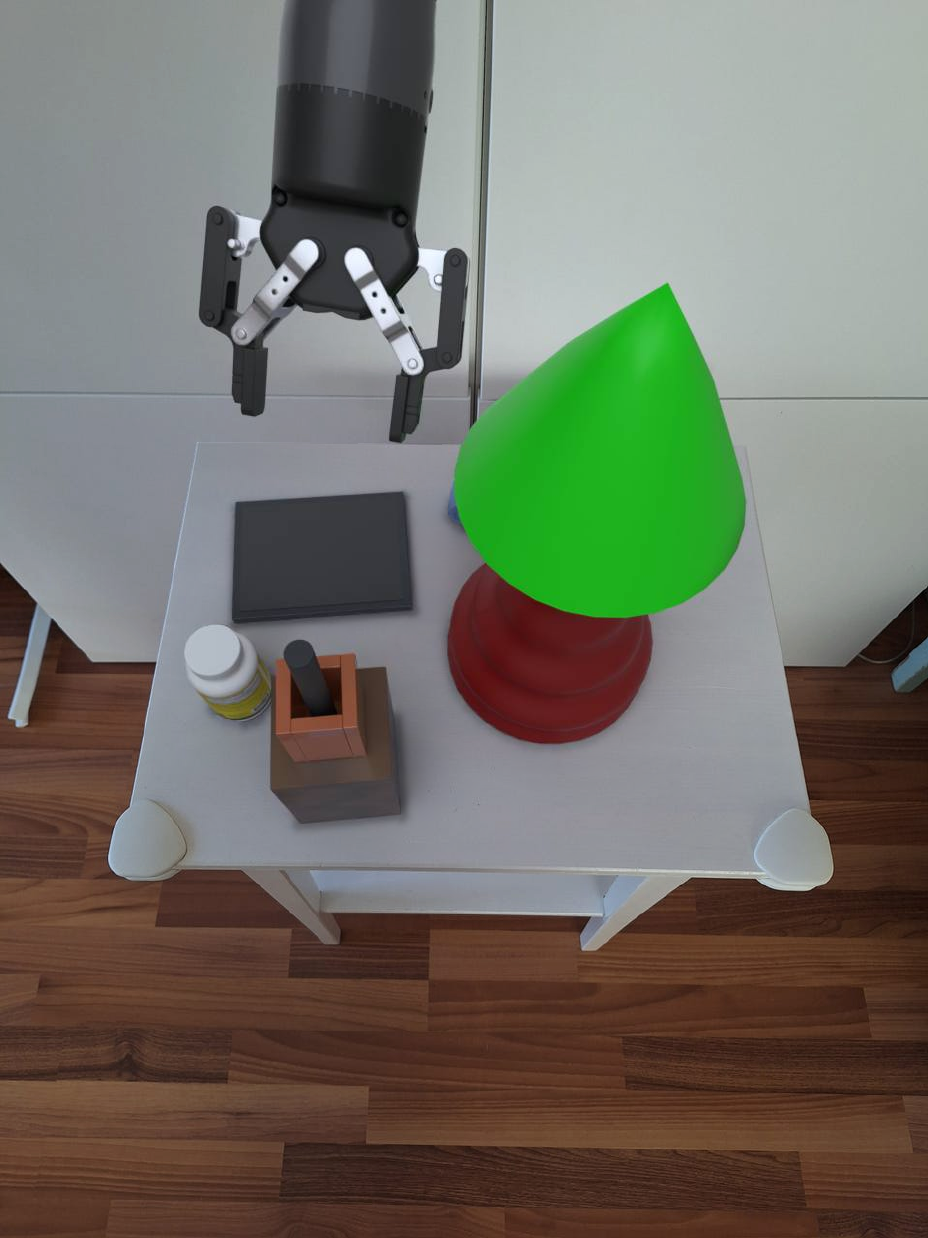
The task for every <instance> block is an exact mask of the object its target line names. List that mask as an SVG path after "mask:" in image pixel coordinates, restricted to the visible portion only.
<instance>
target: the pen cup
mask: <svg viewBox="0 0 928 1238" xmlns="http://www.w3.org/2000/svg"><path fill="white" fill-rule="evenodd" d="M316 657H317V659H318V662H319V665H320V667H321V670H322V673H323V675H324V678H325V681H326V683H327V686H328V689H329V691H330V694H331V697H332V699H333V702H334V705H335V707H336V710H337V713H338V715H330V716H318V717H312V716H311V714H310V712H309V710H308V708H307V706H306V704H305V701H304V699H303V697H302V695H301V693H300V691H299V689H298V687H297V685H296V683H295V681H294V678H293V676H292V674H291V672H290V670H289V668H288V666H287V664H286V662H285V660H284V657H283V658H275V659H276V660H275V675H276V735H277V737H278V738H279V740H280V741H281V743H282V744H283V746H284V747H285V749H286V750H287V752H288V753H289V755H290V756H291V758H292V759H293V761H294V762H295V763H301V762H313V761H324V760H336V759H347V758H358V757H367V745H366V723H365V701H364V688H363V684H362V680H361V676H360V673H359V669H360V668H359V665H358V661H357V658H356V654H355V652H351V653H349V652H348V653H338V654H336V653H335V654H324V655H316Z"/></svg>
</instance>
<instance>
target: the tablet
mask: <svg viewBox="0 0 928 1238" xmlns="http://www.w3.org/2000/svg"><path fill="white" fill-rule="evenodd" d="M404 498H405V497H404V491H389V492H387V491H386V492H374V493H355V494H341V495H325V496H309V497H308V496H307V497H295V498H294V497H293V498H278V499H262V500H247V501H235V504H234V507H235V508H234V533H233V535H234V538H233V539H234V540H233V565H232V566H233V567H232V569H233V570H232V595H231V596H232V599H231V621H232V623H233V624H246V623H259V622H272V621H273V622H274V621H287V620H298V619H313V618H325V617H327V618H328V617H339V616H352V615H366V614H368V615H369V614H379V613H390V612H391V613H393V612H406V611H413V600H412V599H413V598H412V587H411V574H410V563H409V550H408V537H407V535H408V534H407V524H406V511H405V510H406V509H405V499H404Z"/></svg>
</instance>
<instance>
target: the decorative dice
mask: <svg viewBox="0 0 928 1238" xmlns="http://www.w3.org/2000/svg"><path fill="white" fill-rule="evenodd" d="M450 489H451V490H450V494H449V498H448V506H447V516H448V517H449V518H450V519H451V521H452V522H454V523H456V524H458V525H459V526H463V525H462V523H461V520H460V518H459V514H458V509H457V504H456V500H455V495H454V481H452V484H451V488H450Z"/></svg>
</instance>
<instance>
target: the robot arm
mask: <svg viewBox="0 0 928 1238" xmlns="http://www.w3.org/2000/svg"><path fill="white" fill-rule="evenodd" d="M437 3H438V0H283V6H282V11H281V18H280V25H279V26H280V27H279V36H278V37H279V38H278V54H277V73H276V89H275V106H274V107H275V108H274V127H273V129H274V130H273V143H272V145H273V146H272V164H271V182H270V202H269V206H268V209H267V212H266V213H265V214H264V215H265V216H264V217H263V219H260V218H255V217H252V216H251V217H250V216H246V215H243V214H242V213H240V212H238V211H235V210H232V209H230V208H226V207H224V206H220V205H214V206H211V207H210V208H209V209H208V210H207V213H206V217H205V218H206V219H205V232H204V244H203V258H202V267H201V281H200V294H199V305H198V306H199V307H198V318H199V320H200V322H201V324H203V325H204V326H205V327H207V328H213V329H214V330H215V331H218V332H219V333H220V334H223V335H224V336H226V337H227V338H228V339H229V341H230V342H231V344H232V347H233V348H232V369H231V370H232V372H231V374H232V376H231V396H232V398H233V399H232V400H233V402H234V404H240V413H241V415H243V416H248V417H252V418H253V417H254V418H255V417H258V416H261V415H263V414H264V411H265V409H266V395H267V394H266V393H267V376H268V362H269V361H268V359H269V347H267V346H264V341H265V340H266V339H267V338H268V337H269V336H270V334H272V333H273V332H274V330H275V329H276V328H277V327H278V326H279V324H280V323H281V322H282V321H283V320H285V318H287V317H288V316H289V315H290V314H292V312H293V311H294V310H295V308H297V306H298V307H299V308H300V309H302V312H307V313H308V312H309V313H313V314H328V313H334V314H335V315H338V316H340V317H342V318H344V319H348V320H354V321H358V322H359V321H367V320H371V319H373V318H374V320H375V322H376V324H377V326H378V328H379V329H380V331H381V334H382V335H383V336H384V338H385V339H386V340H387V341H388V343H389V345H390V347H391V349H392V351H393V352H394V354H395V356H396V358H397V360H398V362H399V364H400V366H401V369H400V373H397V374H396V376H395V383H394V391H393V398H392V399H393V401H392V408H391V417H390V424H389V433H388V442H390V443H391V442H392V443H397V444H402V443H403V442H405V440H406V438H407V435H412V434H414V432H415V431H416V430H417V427H418V426H419V424H420V421H421V420H420V419H421V411H422V405H423V397H424V390H425V383H426V378H427V377H428V375H429V374H430V373H432V372H437V371H438V372H439V371H443V370H451V369H453V368H455V367H456V366H457V365H458V364H459V363H460V362H461V361H462V358H463V357H462V356H463V349H464V348H463V346H464V337H465V336H464V335H465V325H466V315H467V314H466V313H467V303H468V293H469V282H470V270H471V258H470V257H469V255H468V253H467V252H466V251H465V250H463V249H462V248H459V247H452V248H450V249H448V250H447V249H438V248H429V247H422V246H421V247H420V244H419V240H418V237H417V229H416V228H417V227H416V225H417V217H418V208H419V200H420V193H421V192H420V191H421V183H422V174H423V168H424V167H423V166H424V158H425V150H426V142H427V141H426V140H427V134H428V133H427V132H428V124H429V117H430V114H431V112H432V108H433V102H434V87H433V83H434V78H435V77H434V76H435V66H436V65H435V64H436V24H437V22H436V21H437V19H436V18H437V5H438V4H437ZM259 241H260V243H261V245H262V248H263V249H264V251H265V253H266V255H267V257H268V258H269V260H270V262H271V264H272V266H273V268H274V270H275V271H274V273H273V274H272V275H271V276H270V277H269V278H268V280H267V281H266V282H265V283H264V284H263V286H262V287H261V288H260V289H259V291H258V292H257V293H256V294H255V295H254V297H253V299H252V302H251V304H250V305H249V306H248V307H247V308H246V310H245V311H244V312H243V313H241V312H239V311H238V304H239V293H240V285H241V274H242V263H243V259H246V258H249V257H250V256H251V255H252V254H253V251H254V246H255V245H256V244H257V243H258V242H259ZM419 268H421V269H423V270H424V271H425V272H426V274H427V277H428V285H429V287H430V288H431V289H432V290H433V291H434V292H436V293H439V294H440V303H439V313H438V314H439V316H438V325H437V326H438V327H437V340H436V346H433V347H427V348H424V345H423V344H422V342H421V339H420V337H419V336H418V334H417V331H416V330H415V328H414V324H413V322H412V319H411V318H410V316H409V314H408V312H407V310H406V308H405V307H404V304H403V302H402V301H401V298H400V296H399V295H398V293H400V292H401V290H402V289H403V288H404V287H405V286H406V284H408V282H409V281H410V280H411V279H412V278H413V277H414V275H415V274H416V273H418V271H419Z"/></svg>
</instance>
